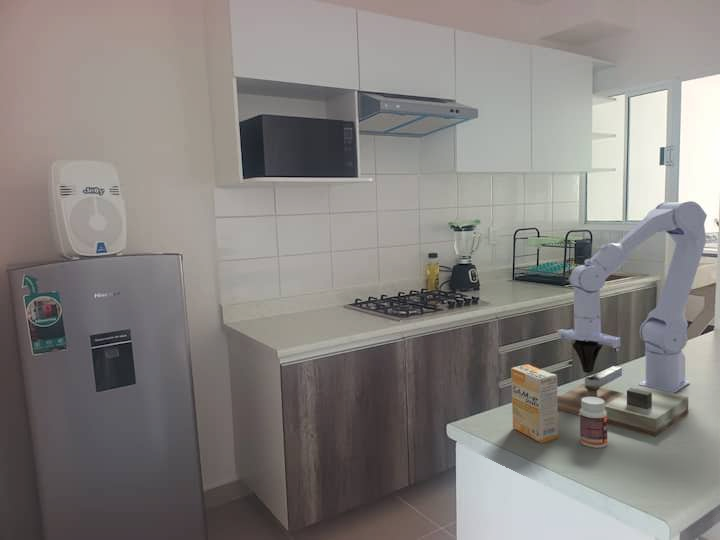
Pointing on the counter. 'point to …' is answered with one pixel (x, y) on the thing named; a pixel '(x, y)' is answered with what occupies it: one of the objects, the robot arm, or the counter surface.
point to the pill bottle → (593, 422)
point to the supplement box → (534, 402)
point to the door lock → (632, 407)
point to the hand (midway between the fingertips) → (588, 371)
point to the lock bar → (603, 378)
